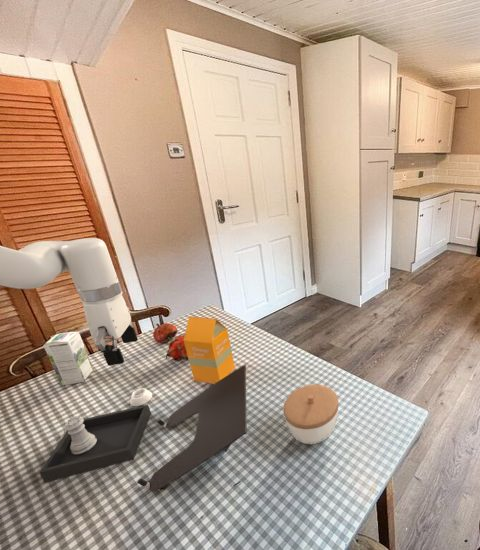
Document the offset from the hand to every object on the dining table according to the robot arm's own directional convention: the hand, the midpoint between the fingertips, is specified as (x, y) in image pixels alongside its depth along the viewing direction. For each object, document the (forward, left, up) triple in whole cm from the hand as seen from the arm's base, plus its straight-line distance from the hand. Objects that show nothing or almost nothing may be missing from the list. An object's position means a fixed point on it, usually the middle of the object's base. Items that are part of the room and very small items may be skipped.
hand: (124, 352), depth 77 cm
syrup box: (-21, +17, -17) cm, 32 cm away
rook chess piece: (-8, -13, -16) cm, 22 cm away
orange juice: (+18, +5, -17) cm, 25 cm away
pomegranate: (0, +30, -17) cm, 35 cm away
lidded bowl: (+43, -26, -17) cm, 53 cm away
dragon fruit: (+8, +18, -17) cm, 26 cm away
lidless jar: (0, 0, -17) cm, 17 cm away
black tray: (-4, -13, -16) cm, 21 cm away
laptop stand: (+18, -20, -17) cm, 31 cm away
